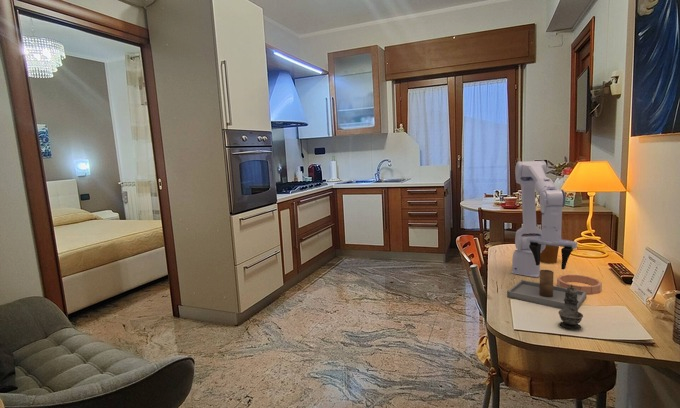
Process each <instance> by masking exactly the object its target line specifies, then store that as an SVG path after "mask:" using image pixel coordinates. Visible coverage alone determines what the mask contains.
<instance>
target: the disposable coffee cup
mask: <svg viewBox="0 0 680 408" xmlns="http://www.w3.org/2000/svg"><path fill="white" fill-rule="evenodd" d="M559 249H560V246H552V245H546V247H545V249H544V250H543V251H542V253H540V263H544V264H555V263H557V261H558V256H559V255H558V254H559Z"/></svg>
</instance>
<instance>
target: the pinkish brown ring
mask: <svg viewBox="0 0 680 408" xmlns="http://www.w3.org/2000/svg"><path fill="white" fill-rule="evenodd" d="M570 283H581V284H586V285H577V284H572V286H573V288H575V289H576V290H579V291H585V292H586V295H595V294H599V293H601V291H602V288H603V287H602V284H603V283H602V281H600V280H599V279H598V278H595V277H593V276H588V275H583V274H582V275H581V274H562V275H559V276H558V277H557V278H556V286H557V287H563V288H568V287H571V284H570ZM587 284H588V285H587Z"/></svg>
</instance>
